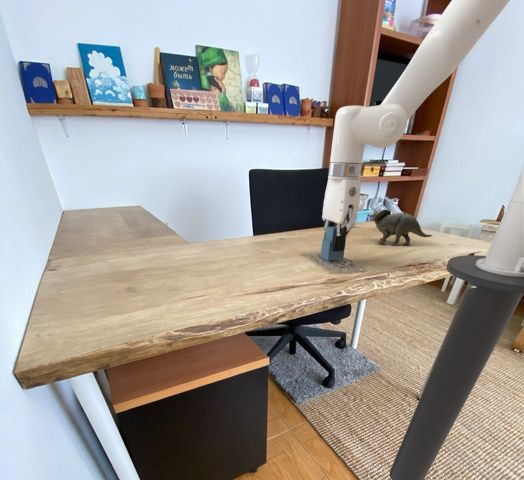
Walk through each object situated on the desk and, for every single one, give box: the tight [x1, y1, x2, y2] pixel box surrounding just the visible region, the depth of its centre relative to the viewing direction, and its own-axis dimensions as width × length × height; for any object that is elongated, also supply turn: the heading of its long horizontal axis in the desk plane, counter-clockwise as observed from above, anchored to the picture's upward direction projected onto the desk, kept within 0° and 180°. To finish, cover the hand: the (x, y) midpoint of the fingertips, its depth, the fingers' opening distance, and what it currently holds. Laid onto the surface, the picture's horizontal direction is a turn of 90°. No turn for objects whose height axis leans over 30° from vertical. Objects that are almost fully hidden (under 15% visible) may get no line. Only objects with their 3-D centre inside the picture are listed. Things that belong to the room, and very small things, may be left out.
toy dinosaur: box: [370, 204, 433, 247], centre depth 99 cm, size 22×8×11 cm, turn 51°
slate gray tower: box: [320, 225, 347, 262], centre depth 81 cm, size 4×5×8 cm
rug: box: [302, 249, 368, 273], centre depth 83 cm, size 10×20×1 cm, turn 18°
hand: (333, 247), depth 81 cm, fingers closed on slate gray tower, 4 cm apart
